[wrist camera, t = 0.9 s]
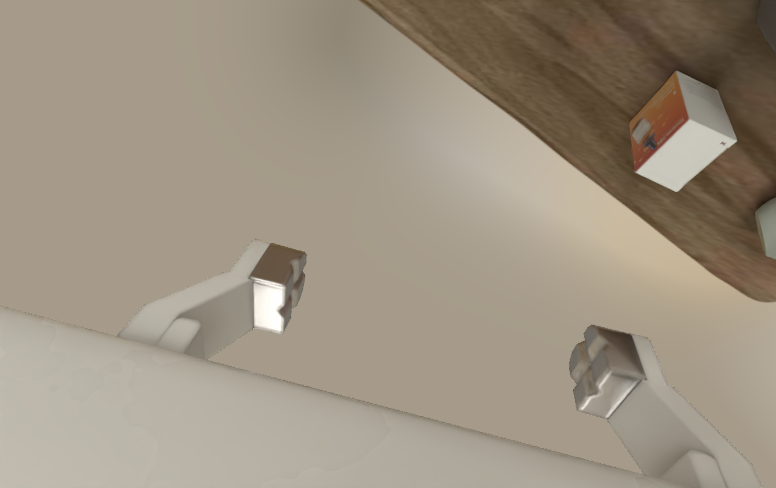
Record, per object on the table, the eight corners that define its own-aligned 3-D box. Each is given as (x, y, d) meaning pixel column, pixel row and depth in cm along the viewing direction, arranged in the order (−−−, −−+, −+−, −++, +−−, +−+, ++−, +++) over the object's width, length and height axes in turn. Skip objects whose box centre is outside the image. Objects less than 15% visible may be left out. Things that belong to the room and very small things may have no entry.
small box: (675, 68, 52) (690, 116, 45) (718, 89, 52) (740, 140, 45) (626, 123, 58) (633, 173, 51) (665, 141, 58) (677, 194, 51)
